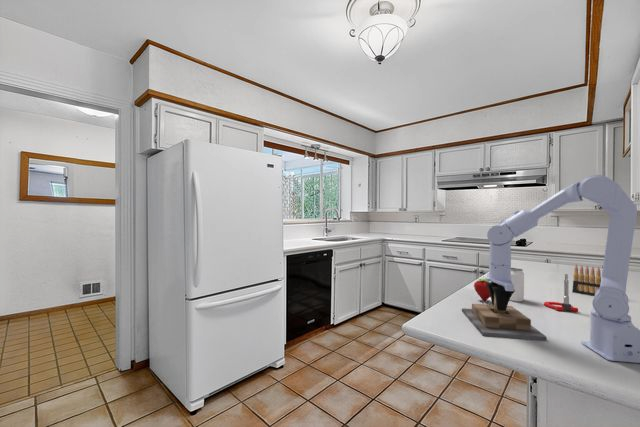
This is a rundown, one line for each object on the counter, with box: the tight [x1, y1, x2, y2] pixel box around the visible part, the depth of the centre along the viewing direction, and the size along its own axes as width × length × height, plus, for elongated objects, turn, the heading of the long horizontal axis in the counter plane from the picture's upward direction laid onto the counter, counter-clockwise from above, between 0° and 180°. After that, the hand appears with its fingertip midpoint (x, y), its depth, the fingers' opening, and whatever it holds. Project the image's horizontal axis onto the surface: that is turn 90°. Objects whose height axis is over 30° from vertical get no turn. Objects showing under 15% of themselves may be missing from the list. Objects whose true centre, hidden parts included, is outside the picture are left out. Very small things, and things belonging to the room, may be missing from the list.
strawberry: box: [473, 278, 491, 302], centre depth 114 cm, size 6×8×10 cm
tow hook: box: [543, 273, 579, 313], centre depth 107 cm, size 8×13×9 cm
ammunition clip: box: [571, 264, 602, 297], centre depth 122 cm, size 11×2×12 cm, turn 37°
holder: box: [461, 303, 548, 341], centre depth 91 cm, size 20×16×4 cm
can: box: [509, 267, 525, 303], centre depth 116 cm, size 6×6×12 cm
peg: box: [494, 293, 505, 314], centre depth 91 cm, size 3×3×8 cm
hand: (499, 308), depth 91 cm, fingers closed on peg, 3 cm apart
